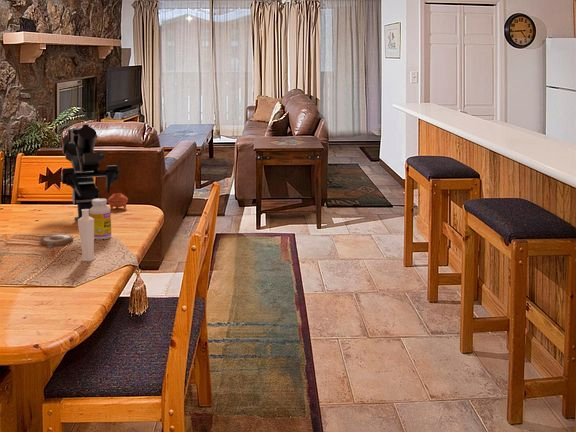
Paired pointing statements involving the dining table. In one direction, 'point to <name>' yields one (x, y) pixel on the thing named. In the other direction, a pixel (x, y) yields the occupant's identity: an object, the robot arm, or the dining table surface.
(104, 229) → the supplement bottle
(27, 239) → the dining table surface
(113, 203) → the pot
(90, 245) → the perfume bottle
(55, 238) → the post base
